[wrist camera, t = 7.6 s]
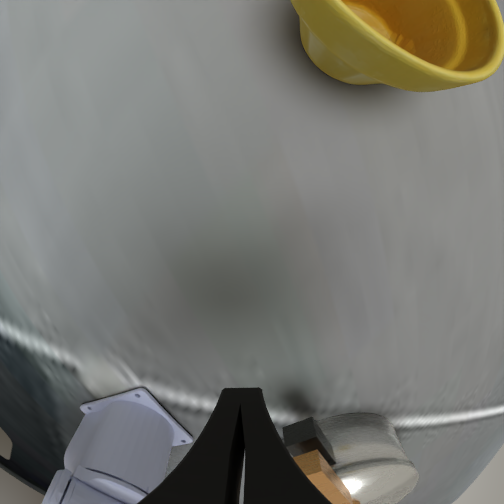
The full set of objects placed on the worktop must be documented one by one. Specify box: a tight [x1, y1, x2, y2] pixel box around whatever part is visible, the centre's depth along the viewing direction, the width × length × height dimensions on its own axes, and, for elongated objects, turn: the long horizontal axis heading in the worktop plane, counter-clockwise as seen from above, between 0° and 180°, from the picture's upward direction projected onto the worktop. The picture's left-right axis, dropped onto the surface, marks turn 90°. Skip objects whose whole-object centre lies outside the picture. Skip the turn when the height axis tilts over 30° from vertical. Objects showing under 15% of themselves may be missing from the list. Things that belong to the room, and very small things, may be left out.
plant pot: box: [291, 0, 504, 92], centre depth 10 cm, size 10×10×10 cm
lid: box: [292, 450, 419, 504], centre depth 17 cm, size 20×15×3 cm
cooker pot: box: [282, 413, 408, 469], centre depth 22 cm, size 22×14×6 cm, turn 27°
